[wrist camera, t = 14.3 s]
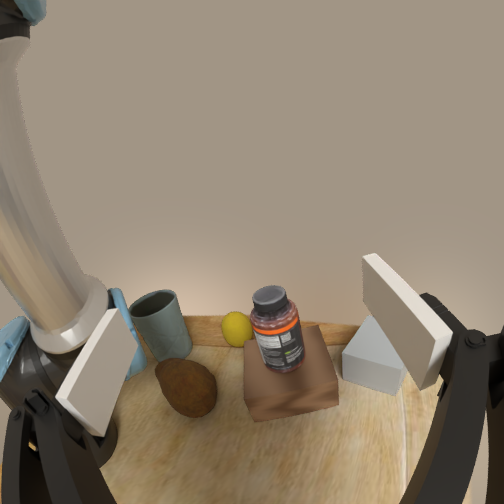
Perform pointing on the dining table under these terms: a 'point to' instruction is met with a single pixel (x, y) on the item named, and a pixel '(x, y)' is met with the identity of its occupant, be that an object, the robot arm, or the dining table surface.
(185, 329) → the grey green planter pot
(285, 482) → the dining table surface
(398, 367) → the grey block
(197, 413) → the potato
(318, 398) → the walnut block
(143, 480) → the dining table surface
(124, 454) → the dining table surface
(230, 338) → the lemon
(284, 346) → the supplement bottle
